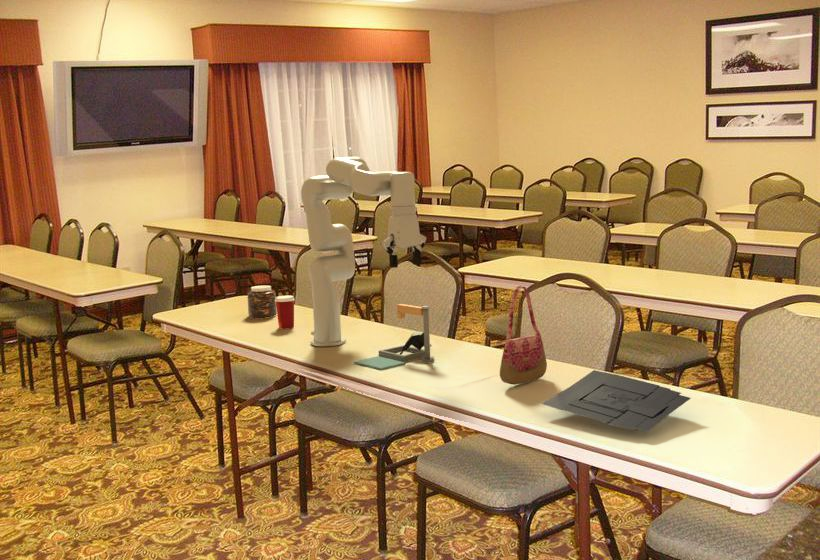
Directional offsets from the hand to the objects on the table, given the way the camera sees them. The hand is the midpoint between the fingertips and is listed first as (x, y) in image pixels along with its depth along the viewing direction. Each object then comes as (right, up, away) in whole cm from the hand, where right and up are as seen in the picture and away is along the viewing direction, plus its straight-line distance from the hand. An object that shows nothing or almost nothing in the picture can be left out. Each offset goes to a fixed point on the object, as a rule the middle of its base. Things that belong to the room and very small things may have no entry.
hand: (405, 265), depth 274 cm
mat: (-8, -32, +6) cm, 33 cm away
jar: (-60, -22, +90) cm, 111 cm away
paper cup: (-47, -25, +67) cm, 85 cm away
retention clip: (+3, -18, +9) cm, 20 cm away
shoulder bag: (+35, -34, -22) cm, 53 cm away
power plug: (0, -32, +17) cm, 36 cm away
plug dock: (+2, -30, +13) cm, 33 cm away
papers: (+54, -38, -53) cm, 85 cm away
